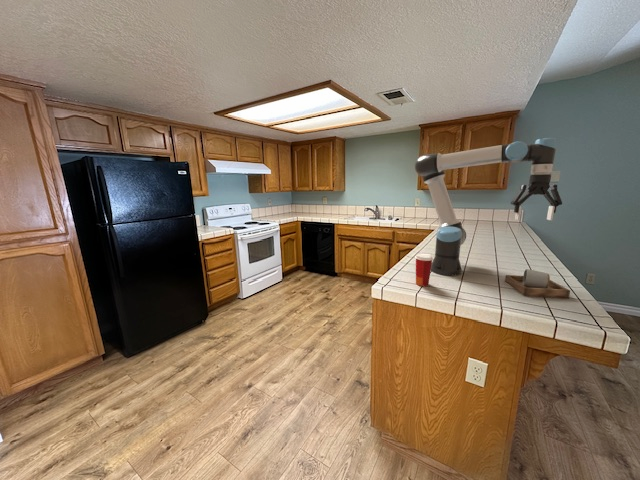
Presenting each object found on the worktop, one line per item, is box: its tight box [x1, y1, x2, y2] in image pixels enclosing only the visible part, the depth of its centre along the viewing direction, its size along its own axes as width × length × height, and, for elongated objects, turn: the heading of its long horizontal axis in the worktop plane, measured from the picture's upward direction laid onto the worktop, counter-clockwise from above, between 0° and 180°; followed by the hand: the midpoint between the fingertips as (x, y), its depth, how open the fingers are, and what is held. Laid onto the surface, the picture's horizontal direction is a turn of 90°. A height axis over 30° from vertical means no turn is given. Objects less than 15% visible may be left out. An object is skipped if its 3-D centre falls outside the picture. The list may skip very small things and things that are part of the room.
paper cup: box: [414, 253, 434, 287], centre depth 119 cm, size 8×8×14 cm
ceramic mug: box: [522, 268, 551, 288], centre depth 113 cm, size 11×8×8 cm
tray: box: [504, 274, 571, 299], centre depth 112 cm, size 16×16×4 cm
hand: (533, 219), depth 123 cm, fingers open, 13 cm apart
